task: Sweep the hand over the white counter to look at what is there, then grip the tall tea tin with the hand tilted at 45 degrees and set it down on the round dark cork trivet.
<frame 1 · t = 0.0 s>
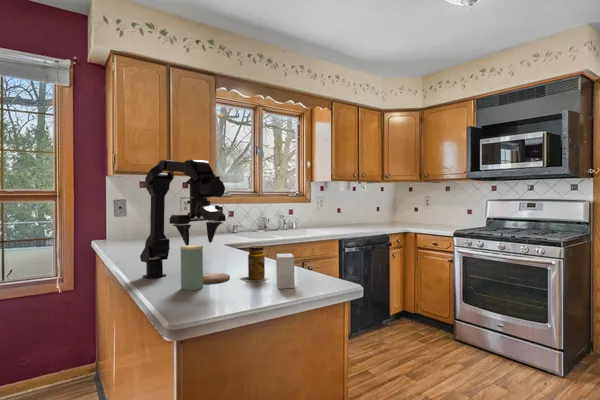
hand: (199, 244, 121), 15 cm above the worktop, tool pointing down, fingers open, 9 cm apart
small box: (285, 286, 122), on the worktop
condiment: (254, 279, 133), on the worktop
trivet: (211, 279, 133), on the worktop
tea tin: (192, 288, 120), on the worktop
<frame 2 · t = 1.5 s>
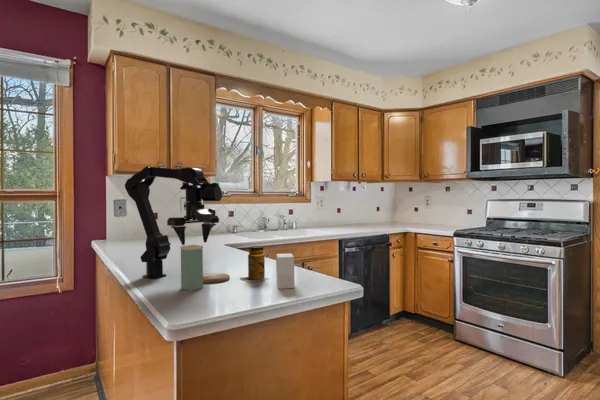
hand: (194, 243, 134), 13 cm above the worktop, tool pointing down, fingers open, 9 cm apart
nothing on the worktop moved.
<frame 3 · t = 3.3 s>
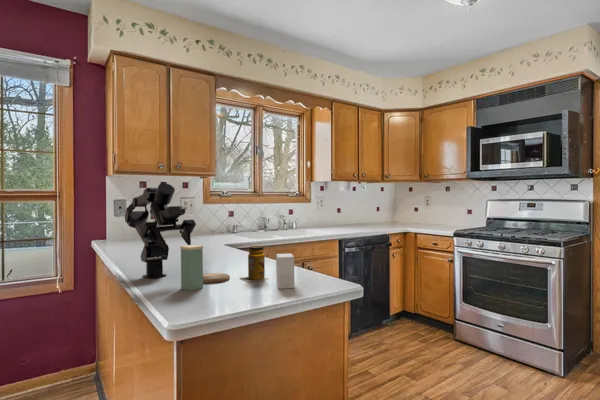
hand: (178, 246, 125), 13 cm above the worktop, tool tilted 45°, fingers open, 9 cm apart
nothing on the worktop moved.
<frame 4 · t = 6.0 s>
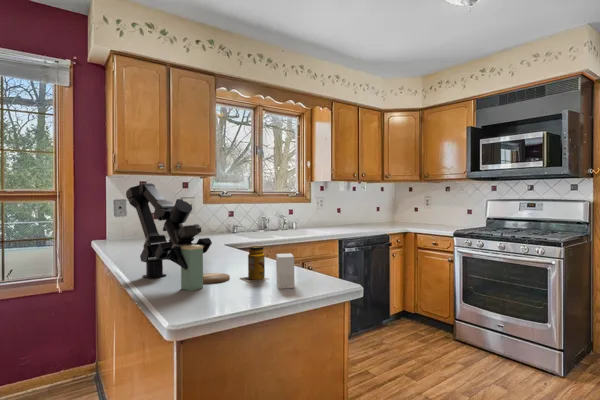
hand: (194, 267, 119), 7 cm above the worktop, tool tilted 45°, fingers closed on tea tin, 5 cm apart
tea tin: (192, 288, 120), on the worktop, touching gripper
everything else where it was.
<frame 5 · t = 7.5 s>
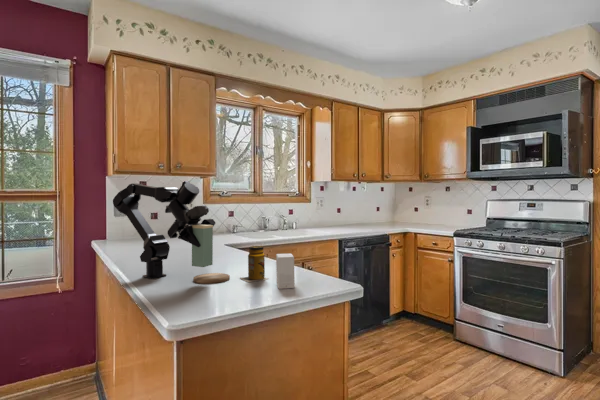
hand: (205, 245, 126), 13 cm above the worktop, tool tilted 45°, fingers closed on tea tin, 5 cm apart
tea tin: (202, 265, 127), point 6 cm above the worktop, touching gripper
everything else where it was.
when the fingers open (9 cm above the worktop, at t = 9.3 s): tea tin stays where it is, resting on trivet.
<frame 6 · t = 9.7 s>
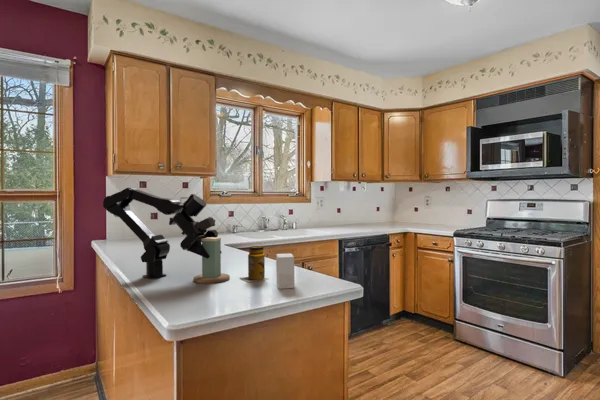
hand: (215, 255, 132), 9 cm above the worktop, tool tilted 45°, fingers open, 9 cm apart
tea tin: (211, 276, 133), point 1 cm above the worktop, touching trivet
everything else where it was.
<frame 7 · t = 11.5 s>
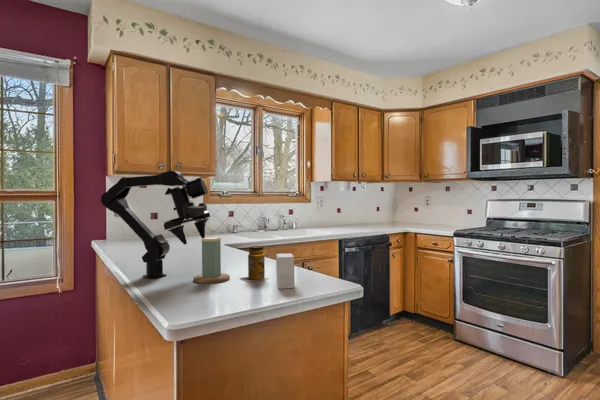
hand: (194, 241, 138), 14 cm above the worktop, tool tilted 20°, fingers open, 9 cm apart
nothing on the worktop moved.
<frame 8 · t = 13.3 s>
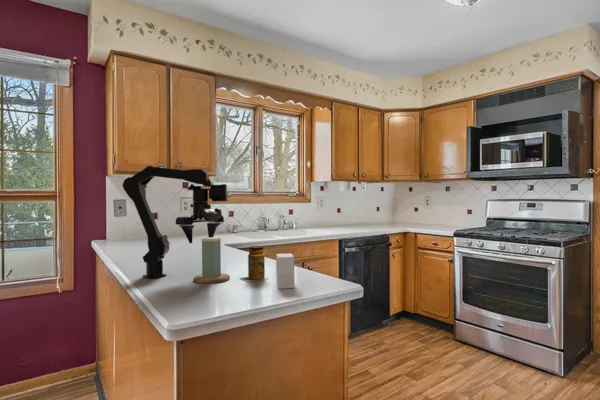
hand: (200, 242, 140), 13 cm above the worktop, tool pointing down, fingers open, 9 cm apart
nothing on the worktop moved.
at the end: tea tin inside the target area on the trivet (0.0 cm from its centre), point 1.1 cm above the trivet's base; tea tin tilted 0°; the gripper is holding nothing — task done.
